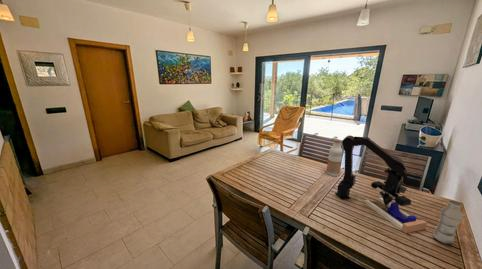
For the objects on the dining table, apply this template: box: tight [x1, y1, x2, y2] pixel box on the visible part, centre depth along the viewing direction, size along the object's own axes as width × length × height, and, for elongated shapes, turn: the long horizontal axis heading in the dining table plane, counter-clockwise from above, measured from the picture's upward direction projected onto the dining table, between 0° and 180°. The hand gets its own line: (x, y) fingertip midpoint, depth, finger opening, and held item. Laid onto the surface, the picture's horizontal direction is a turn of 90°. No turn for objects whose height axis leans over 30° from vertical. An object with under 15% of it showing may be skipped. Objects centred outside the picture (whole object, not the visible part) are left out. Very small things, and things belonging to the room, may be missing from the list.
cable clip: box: [386, 202, 418, 224], centre depth 100 cm, size 12×4×6 cm, turn 3°
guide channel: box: [364, 197, 428, 234], centre depth 103 cm, size 12×24×4 cm, turn 12°
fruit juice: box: [326, 138, 344, 177], centre depth 146 cm, size 9×9×28 cm
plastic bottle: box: [433, 200, 463, 245], centre depth 84 cm, size 6×7×20 cm
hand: (386, 205), depth 107 cm, fingers closed
